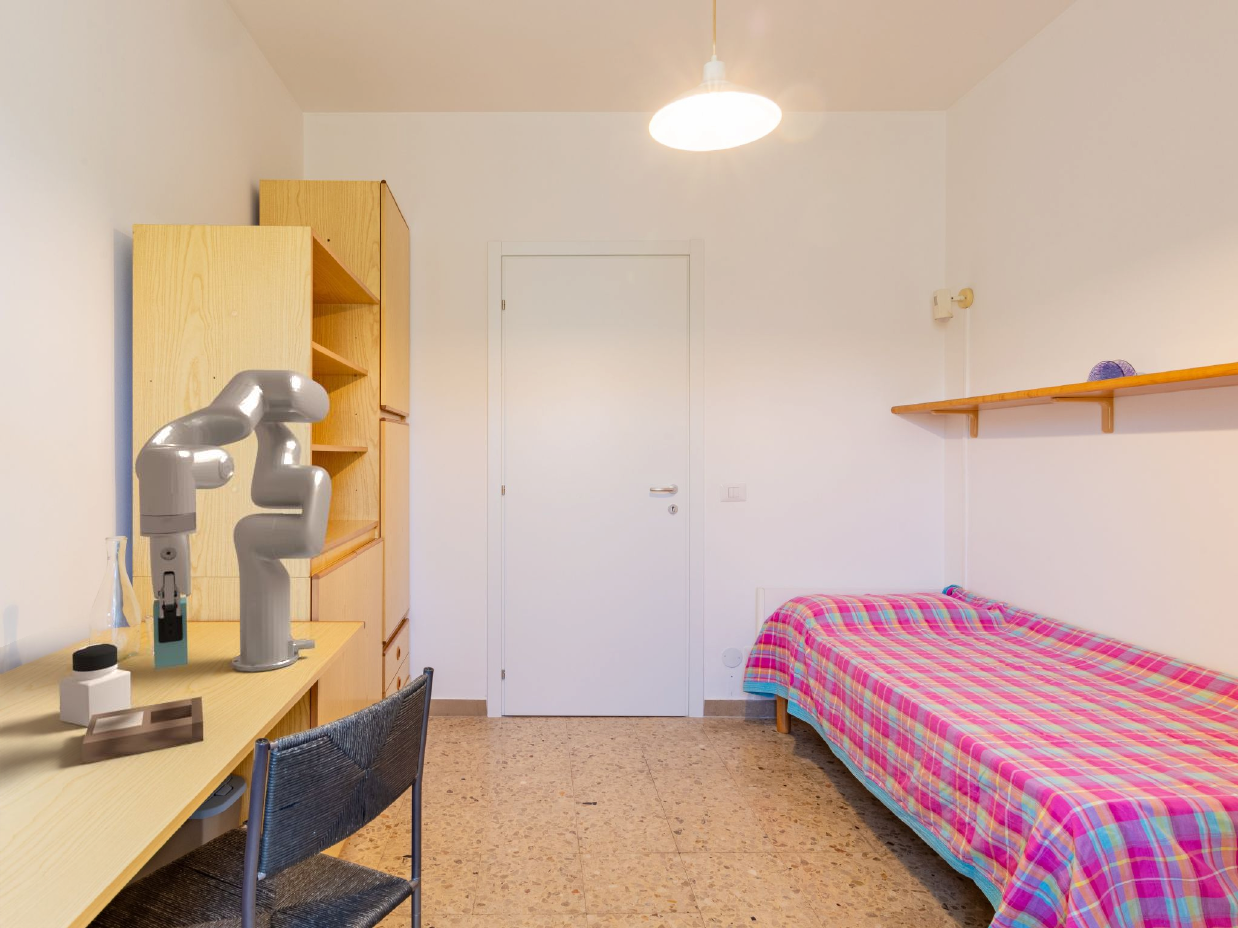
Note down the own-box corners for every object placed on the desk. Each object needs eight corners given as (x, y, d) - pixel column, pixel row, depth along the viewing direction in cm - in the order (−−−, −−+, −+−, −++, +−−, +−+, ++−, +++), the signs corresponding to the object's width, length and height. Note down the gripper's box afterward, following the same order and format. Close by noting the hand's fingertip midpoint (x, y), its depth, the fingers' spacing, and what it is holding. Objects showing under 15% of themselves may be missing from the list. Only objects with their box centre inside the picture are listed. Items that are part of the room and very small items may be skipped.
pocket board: (201, 713, 117) (201, 695, 117) (203, 740, 107) (203, 720, 107) (92, 733, 109) (91, 713, 109) (82, 764, 99) (82, 742, 99)
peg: (187, 656, 112) (186, 596, 112) (187, 664, 109) (186, 602, 108) (155, 660, 110) (154, 600, 110) (154, 669, 106) (153, 606, 106)
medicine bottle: (132, 711, 118) (131, 643, 117) (88, 727, 111) (87, 655, 110) (103, 705, 120) (102, 638, 120) (59, 721, 113) (57, 650, 113)
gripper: (197, 529, 103) (199, 647, 104) (195, 517, 117) (197, 621, 118) (136, 533, 99) (139, 656, 100) (142, 519, 113) (145, 627, 114)
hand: (171, 635), depth 109 cm, fingers closed on peg, 4 cm apart
